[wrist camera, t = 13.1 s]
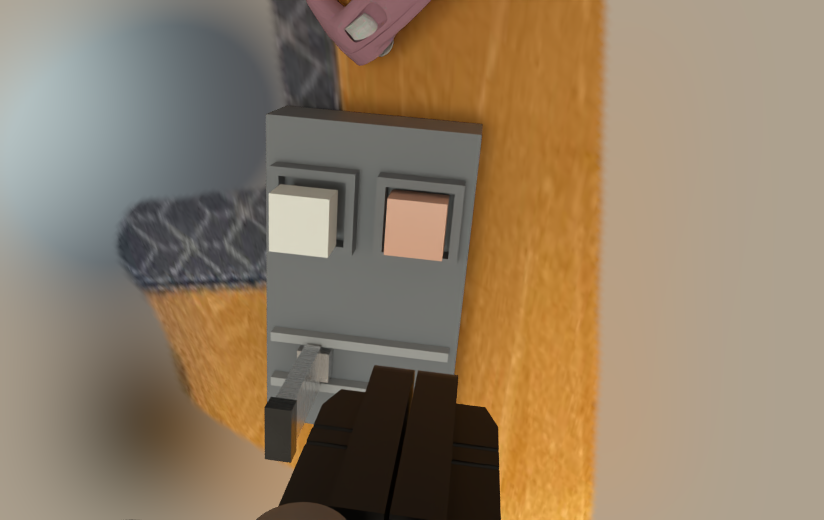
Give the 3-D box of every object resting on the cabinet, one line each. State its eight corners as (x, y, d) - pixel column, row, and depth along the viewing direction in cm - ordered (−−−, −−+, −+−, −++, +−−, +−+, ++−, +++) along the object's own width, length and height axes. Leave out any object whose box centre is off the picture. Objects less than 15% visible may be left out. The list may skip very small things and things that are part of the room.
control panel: (287, 105, 39) (258, 117, 34) (482, 124, 38) (481, 138, 33) (285, 385, 46) (261, 428, 41) (449, 406, 45) (445, 453, 40)
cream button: (280, 184, 34) (268, 193, 33) (338, 190, 34) (329, 199, 32) (280, 239, 36) (268, 251, 34) (336, 245, 35) (327, 257, 33)
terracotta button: (392, 189, 35) (387, 198, 33) (449, 195, 35) (447, 204, 33) (388, 243, 36) (383, 254, 35) (444, 249, 36) (441, 261, 34)
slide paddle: (301, 334, 40) (258, 406, 32) (332, 338, 39) (297, 411, 32) (300, 378, 41) (259, 458, 33) (331, 382, 41) (296, 463, 33)
